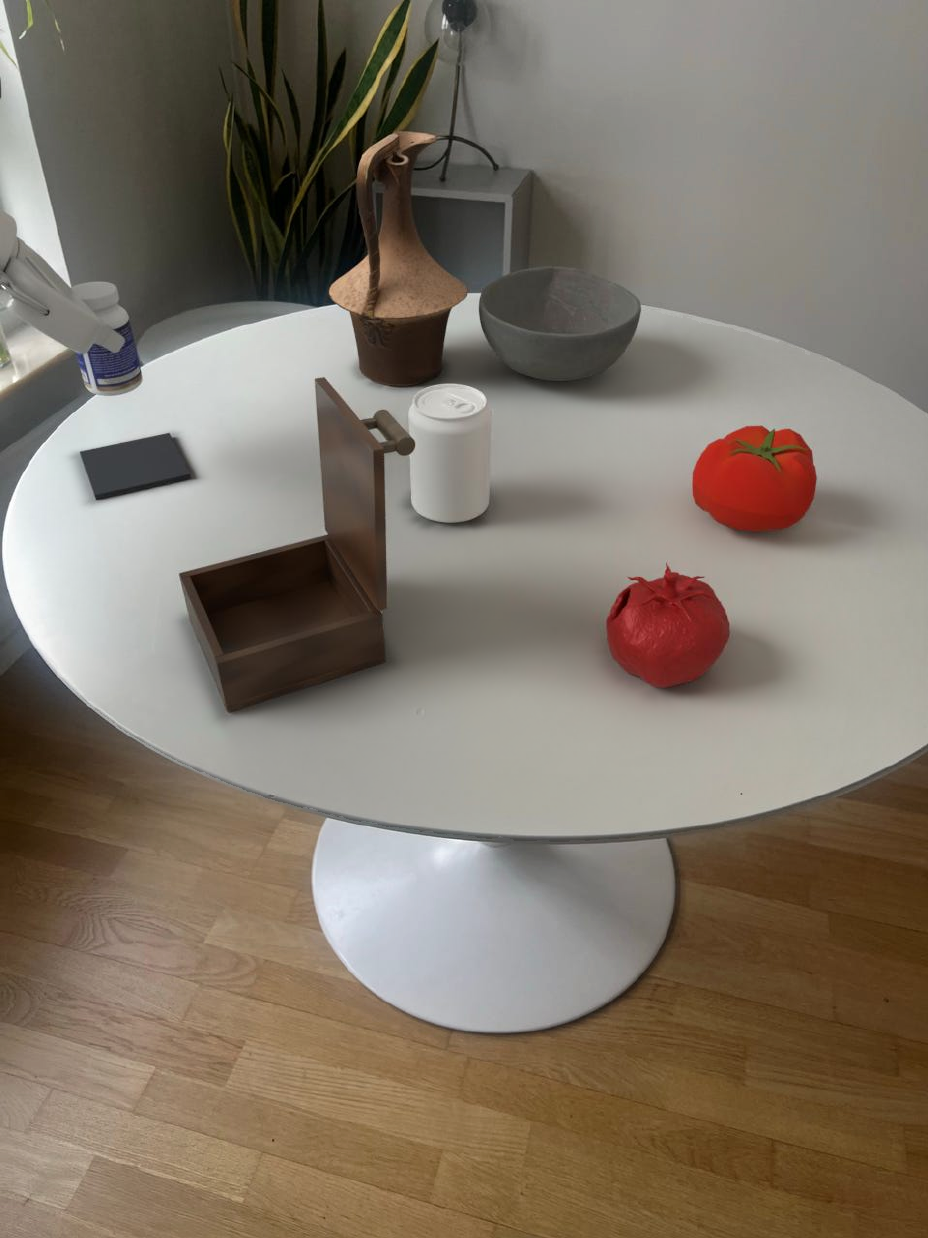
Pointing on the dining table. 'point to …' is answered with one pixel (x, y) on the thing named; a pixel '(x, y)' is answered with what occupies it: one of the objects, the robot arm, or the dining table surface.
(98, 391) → the pill bottle
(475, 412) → the beverage can
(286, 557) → the chest
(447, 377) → the dining table surface
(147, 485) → the mat
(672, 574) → the red crowned fruit
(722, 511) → the tomato
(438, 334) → the pitcher
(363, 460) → the chest lid
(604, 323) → the bowl
